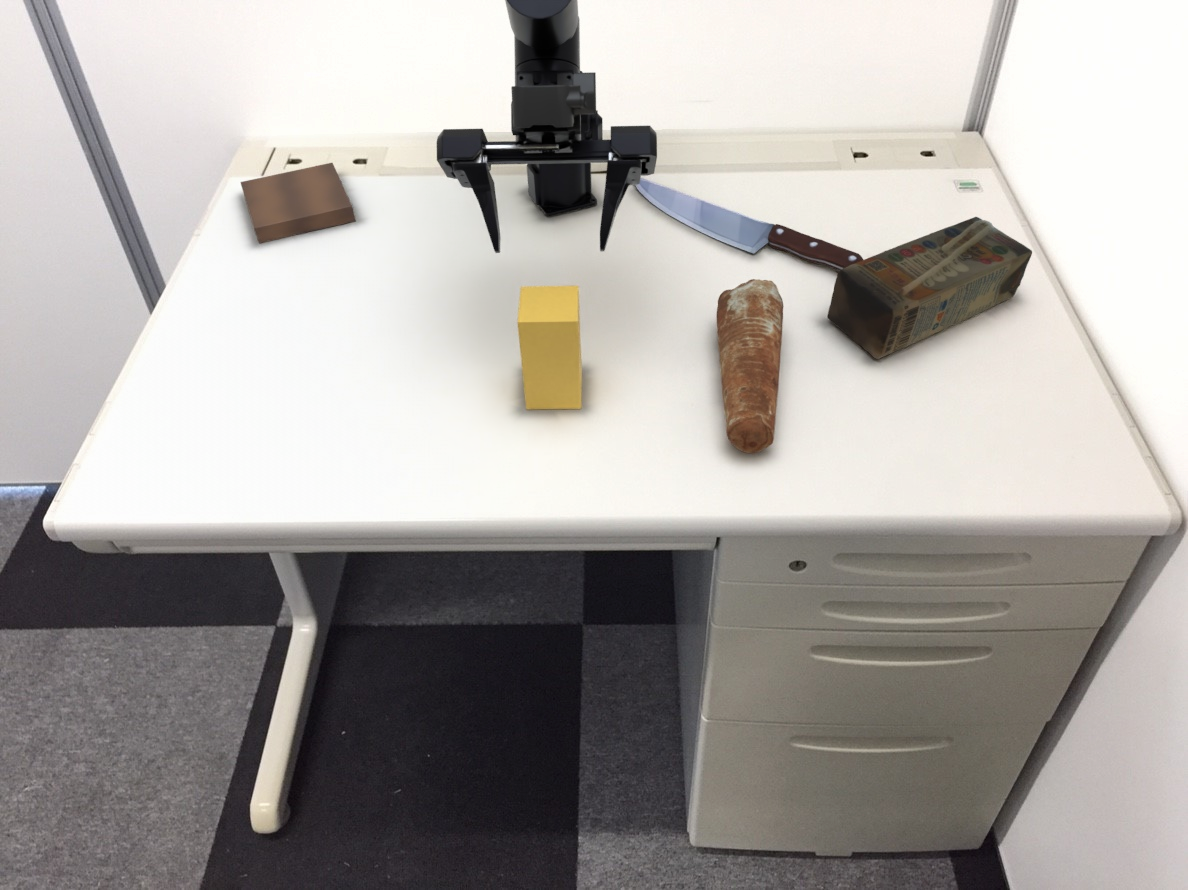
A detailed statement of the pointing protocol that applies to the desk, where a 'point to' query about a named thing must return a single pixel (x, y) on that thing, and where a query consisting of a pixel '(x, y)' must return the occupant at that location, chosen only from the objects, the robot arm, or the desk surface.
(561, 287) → the butter
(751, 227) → the kitchen knife
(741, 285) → the orange-brown tapered rod
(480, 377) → the desk surface
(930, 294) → the beverage carton
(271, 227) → the cutting board
